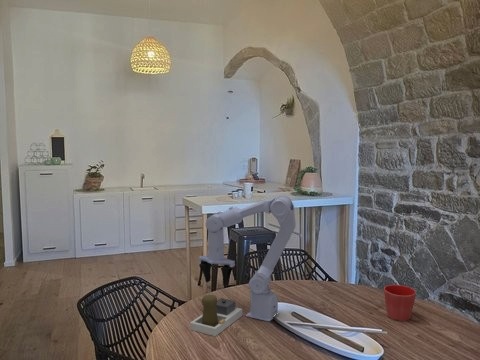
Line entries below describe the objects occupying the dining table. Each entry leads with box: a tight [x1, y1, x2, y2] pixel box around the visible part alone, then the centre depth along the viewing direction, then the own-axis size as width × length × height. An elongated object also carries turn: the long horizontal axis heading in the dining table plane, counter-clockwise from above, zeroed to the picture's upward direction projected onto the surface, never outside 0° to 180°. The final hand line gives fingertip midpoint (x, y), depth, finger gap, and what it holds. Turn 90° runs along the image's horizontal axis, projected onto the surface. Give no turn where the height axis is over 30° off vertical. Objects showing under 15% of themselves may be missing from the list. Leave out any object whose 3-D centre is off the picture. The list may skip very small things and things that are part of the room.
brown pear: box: [201, 294, 219, 327], centre depth 138 cm, size 6×6×11 cm
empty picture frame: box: [189, 297, 243, 337], centre depth 143 cm, size 10×18×6 cm, turn 151°
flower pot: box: [383, 284, 417, 322], centre depth 146 cm, size 11×11×10 cm
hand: (216, 283), depth 152 cm, fingers open, 7 cm apart
